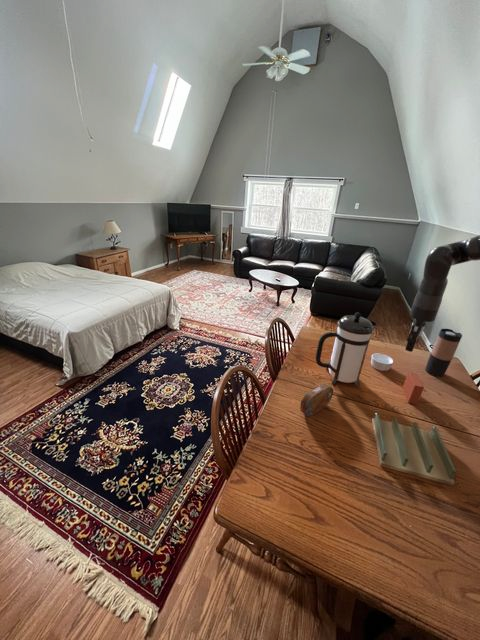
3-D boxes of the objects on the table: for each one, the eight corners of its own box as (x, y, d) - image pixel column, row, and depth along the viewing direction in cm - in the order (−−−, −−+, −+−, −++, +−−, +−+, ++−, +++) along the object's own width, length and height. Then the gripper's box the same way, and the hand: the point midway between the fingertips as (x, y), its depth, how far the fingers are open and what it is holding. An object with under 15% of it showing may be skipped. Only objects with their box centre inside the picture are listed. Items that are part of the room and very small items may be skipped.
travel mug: (427, 375, 117) (443, 334, 109) (422, 365, 124) (437, 327, 115) (447, 379, 115) (465, 338, 107) (441, 369, 122) (458, 330, 113)
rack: (431, 434, 87) (435, 424, 85) (453, 486, 71) (459, 475, 70) (371, 420, 92) (374, 410, 90) (380, 465, 76) (384, 455, 74)
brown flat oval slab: (303, 420, 90) (307, 400, 87) (296, 414, 93) (300, 395, 89) (331, 403, 99) (335, 384, 95) (324, 398, 101) (328, 379, 97)
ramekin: (366, 360, 126) (368, 352, 124) (385, 361, 126) (387, 353, 124) (374, 371, 118) (376, 363, 116) (394, 372, 118) (397, 364, 116)
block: (410, 389, 108) (417, 373, 104) (417, 404, 100) (424, 387, 96) (402, 387, 108) (408, 371, 105) (408, 402, 101) (414, 385, 97)
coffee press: (335, 362, 123) (349, 301, 110) (368, 380, 112) (387, 315, 99) (311, 375, 113) (323, 310, 100) (344, 396, 102) (363, 326, 89)
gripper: (435, 314, 84) (419, 358, 91) (441, 303, 94) (426, 343, 101) (409, 307, 88) (395, 349, 95) (417, 297, 98) (404, 336, 105)
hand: (411, 346), depth 98 cm, fingers open, 8 cm apart
